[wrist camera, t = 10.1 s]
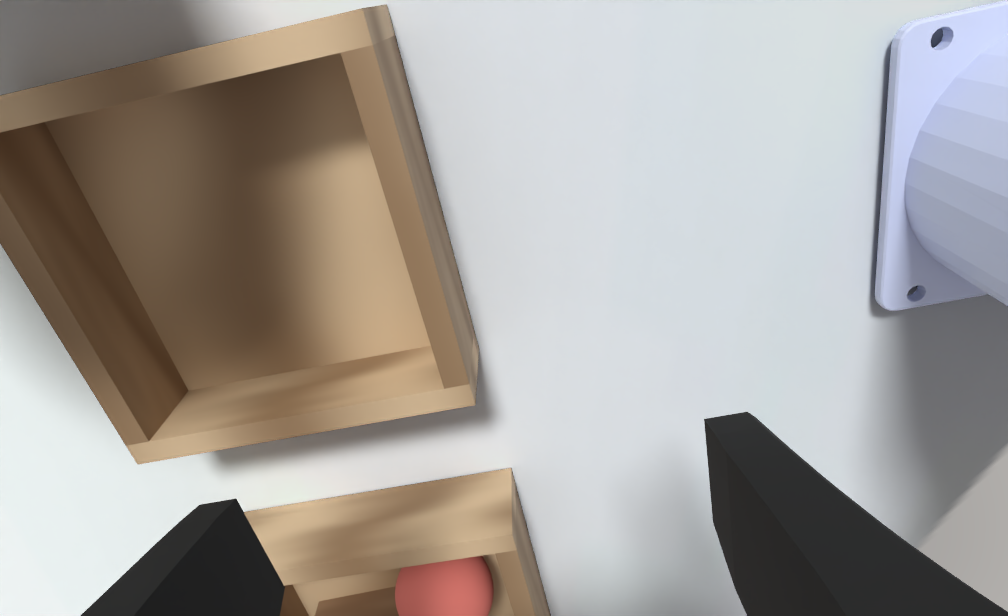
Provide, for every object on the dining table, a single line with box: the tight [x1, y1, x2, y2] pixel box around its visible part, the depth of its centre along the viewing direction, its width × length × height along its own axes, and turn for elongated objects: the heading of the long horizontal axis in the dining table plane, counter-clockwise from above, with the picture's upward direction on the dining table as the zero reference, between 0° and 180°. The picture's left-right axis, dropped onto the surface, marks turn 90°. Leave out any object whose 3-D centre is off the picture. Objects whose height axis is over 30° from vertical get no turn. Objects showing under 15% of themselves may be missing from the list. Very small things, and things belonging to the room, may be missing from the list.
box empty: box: [0, 5, 479, 464], centre depth 17 cm, size 10×10×3 cm
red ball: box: [395, 556, 494, 616], centre depth 22 cm, size 3×3×3 cm
